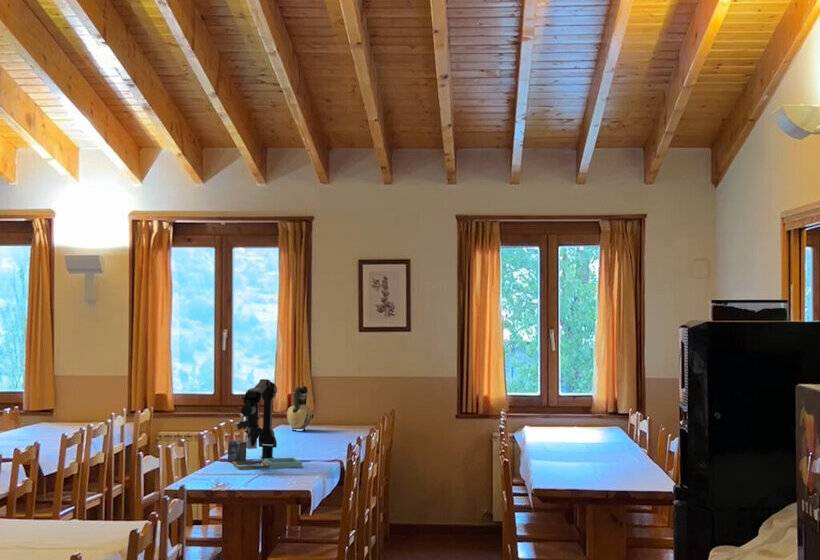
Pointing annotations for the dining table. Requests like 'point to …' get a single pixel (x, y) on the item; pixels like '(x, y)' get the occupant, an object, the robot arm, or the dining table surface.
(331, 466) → the dining table surface
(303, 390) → the amphora
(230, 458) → the box
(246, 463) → the corral
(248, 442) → the slate block
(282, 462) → the bin
